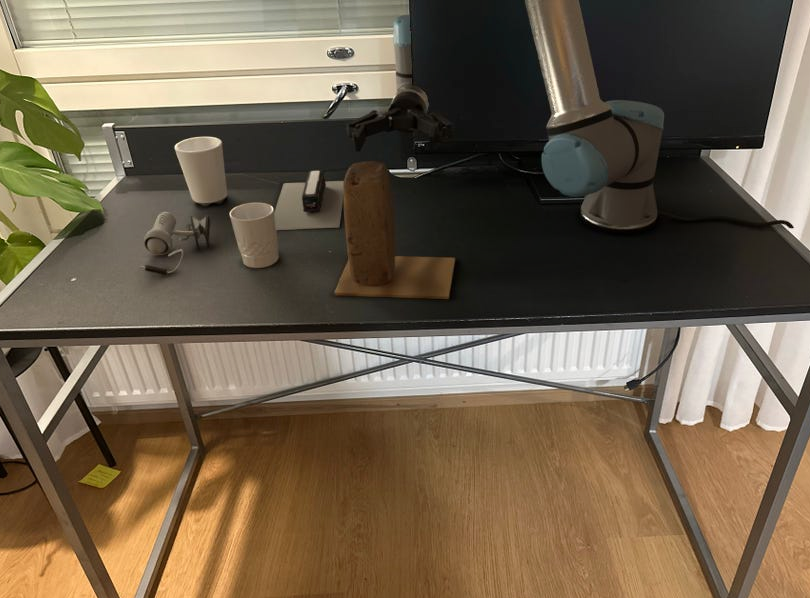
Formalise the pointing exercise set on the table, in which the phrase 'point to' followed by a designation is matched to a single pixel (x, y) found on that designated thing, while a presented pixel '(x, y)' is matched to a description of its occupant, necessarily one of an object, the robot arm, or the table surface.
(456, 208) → the table surface
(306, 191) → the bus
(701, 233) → the table surface
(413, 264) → the cork mat
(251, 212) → the white cup
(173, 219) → the clip-on lamp
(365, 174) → the block
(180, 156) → the cup
